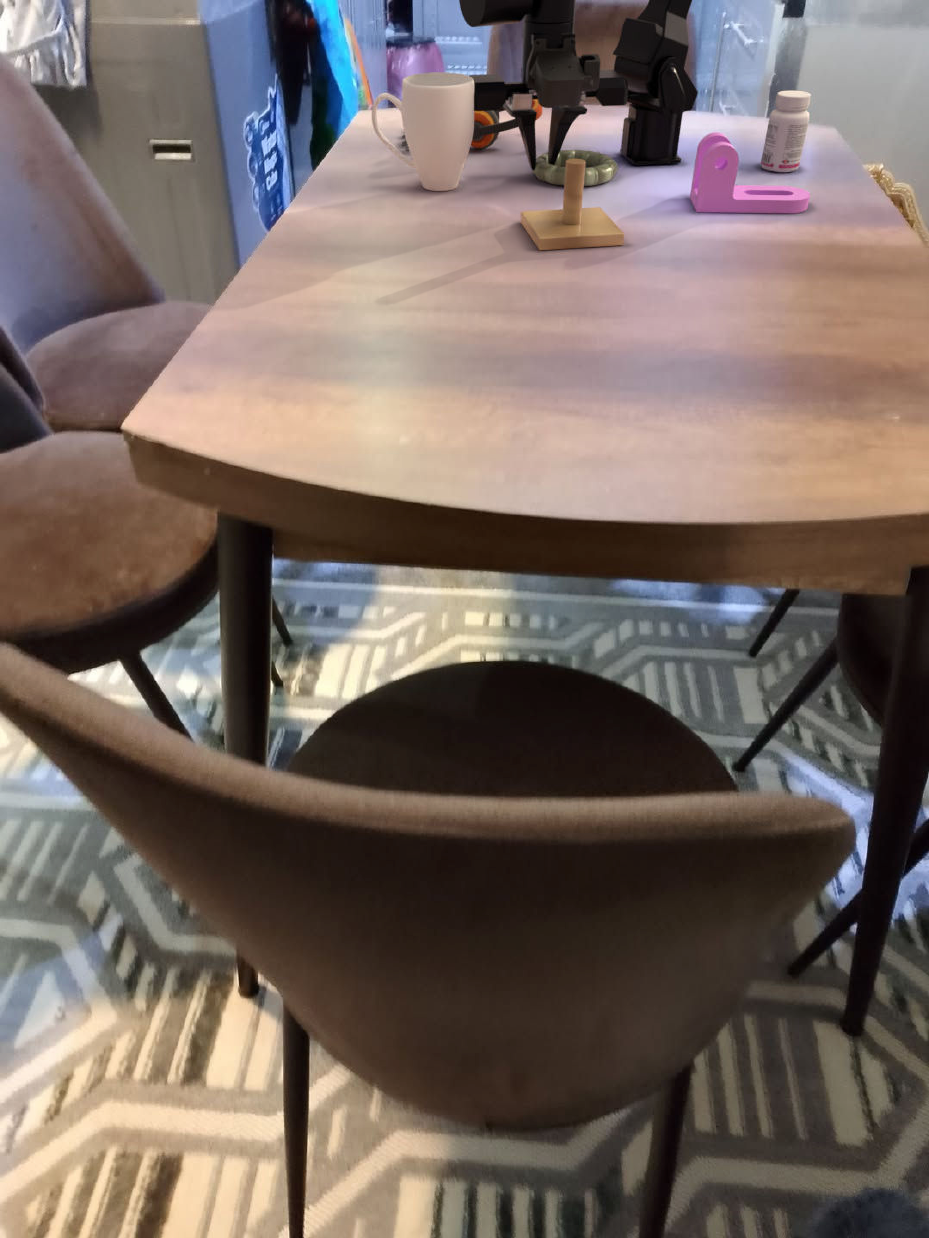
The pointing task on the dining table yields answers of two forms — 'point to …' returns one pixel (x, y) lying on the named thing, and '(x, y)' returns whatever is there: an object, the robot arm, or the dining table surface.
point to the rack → (572, 219)
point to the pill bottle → (786, 132)
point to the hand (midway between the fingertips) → (541, 169)
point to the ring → (596, 167)
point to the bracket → (722, 195)
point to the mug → (434, 125)
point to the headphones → (491, 126)
